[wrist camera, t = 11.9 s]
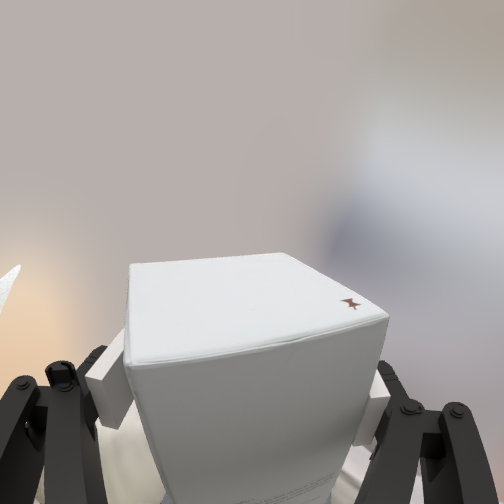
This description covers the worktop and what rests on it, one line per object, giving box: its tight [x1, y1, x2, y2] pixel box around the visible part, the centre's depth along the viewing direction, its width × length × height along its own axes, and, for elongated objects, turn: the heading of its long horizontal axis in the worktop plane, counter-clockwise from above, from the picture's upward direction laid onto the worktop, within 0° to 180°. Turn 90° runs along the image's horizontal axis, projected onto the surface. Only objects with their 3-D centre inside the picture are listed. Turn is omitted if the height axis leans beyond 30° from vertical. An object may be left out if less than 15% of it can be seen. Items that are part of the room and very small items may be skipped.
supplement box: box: [123, 253, 389, 504], centre depth 12 cm, size 7×7×13 cm
